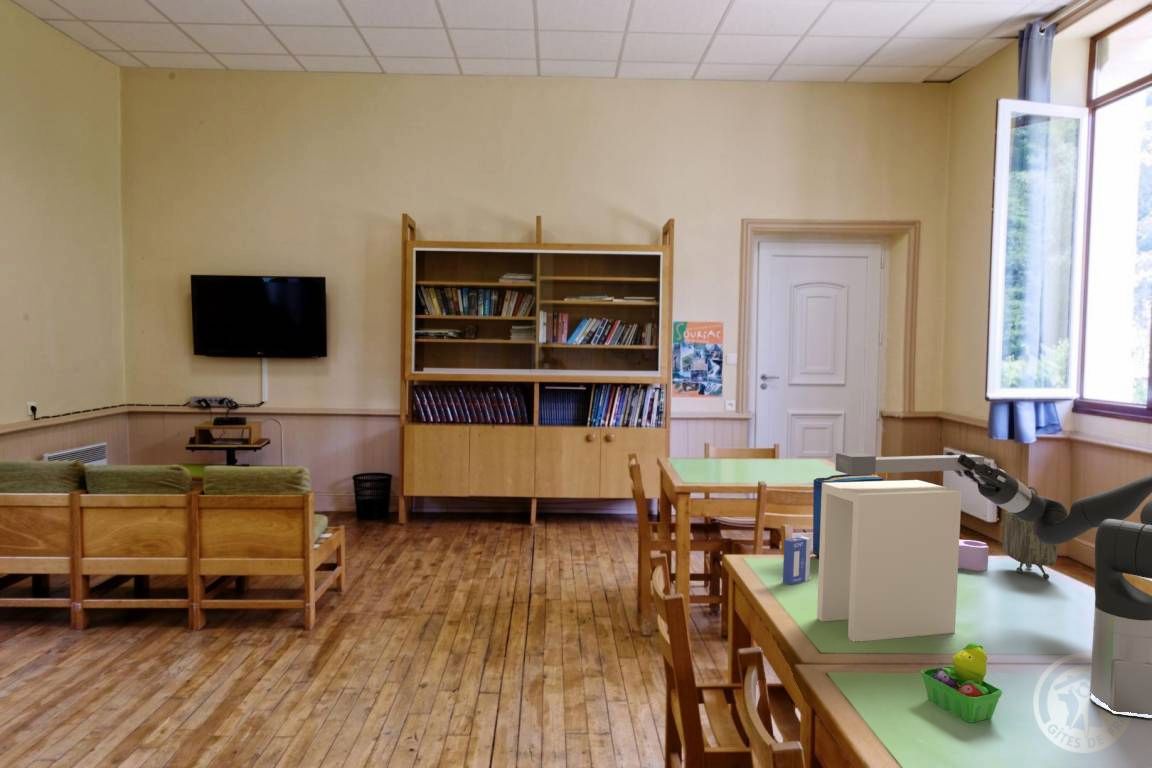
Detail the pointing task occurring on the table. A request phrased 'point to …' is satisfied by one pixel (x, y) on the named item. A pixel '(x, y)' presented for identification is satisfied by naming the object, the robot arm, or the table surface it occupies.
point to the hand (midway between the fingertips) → (953, 456)
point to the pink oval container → (973, 555)
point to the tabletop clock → (1026, 543)
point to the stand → (889, 558)
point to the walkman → (796, 560)
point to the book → (817, 500)
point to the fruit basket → (963, 685)
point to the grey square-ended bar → (898, 463)
